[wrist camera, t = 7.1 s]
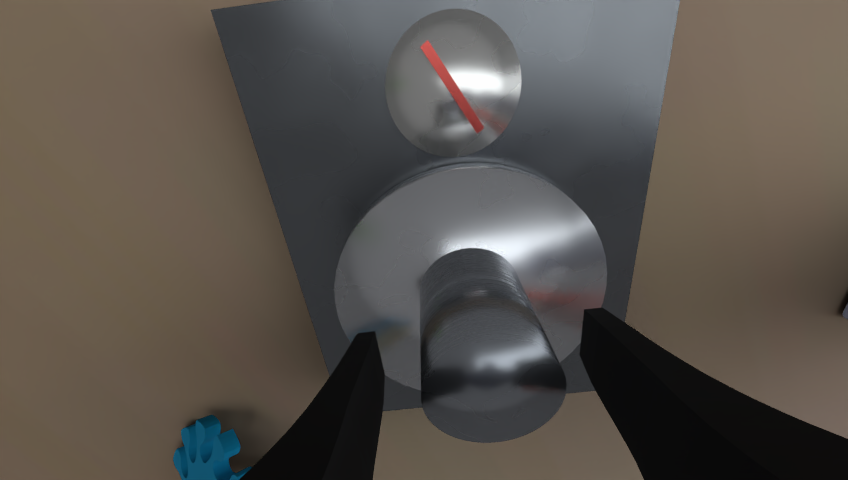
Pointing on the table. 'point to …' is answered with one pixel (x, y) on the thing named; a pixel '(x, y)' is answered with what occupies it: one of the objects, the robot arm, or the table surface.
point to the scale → (453, 153)
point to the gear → (207, 452)
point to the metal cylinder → (484, 351)
